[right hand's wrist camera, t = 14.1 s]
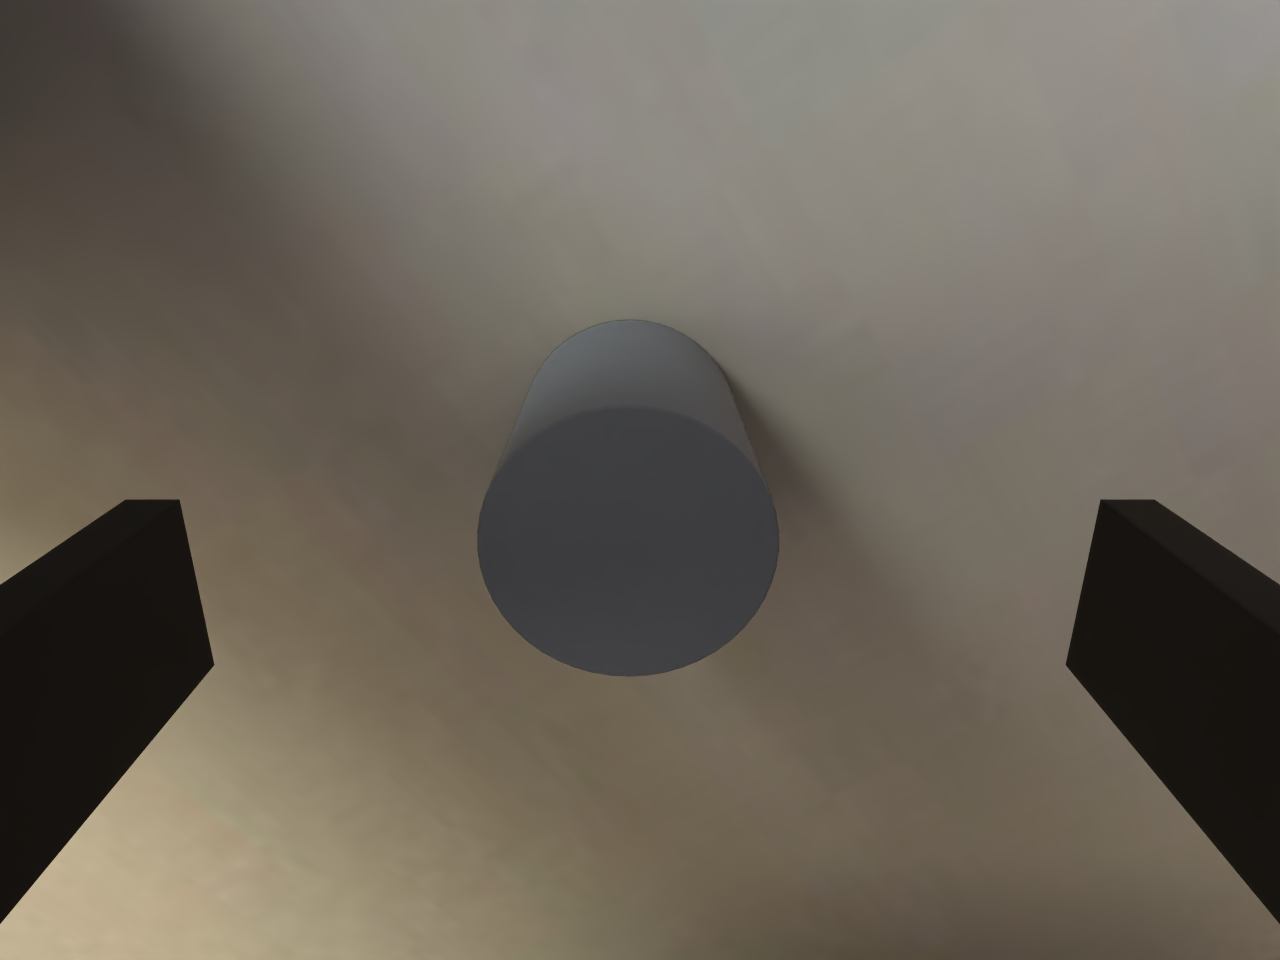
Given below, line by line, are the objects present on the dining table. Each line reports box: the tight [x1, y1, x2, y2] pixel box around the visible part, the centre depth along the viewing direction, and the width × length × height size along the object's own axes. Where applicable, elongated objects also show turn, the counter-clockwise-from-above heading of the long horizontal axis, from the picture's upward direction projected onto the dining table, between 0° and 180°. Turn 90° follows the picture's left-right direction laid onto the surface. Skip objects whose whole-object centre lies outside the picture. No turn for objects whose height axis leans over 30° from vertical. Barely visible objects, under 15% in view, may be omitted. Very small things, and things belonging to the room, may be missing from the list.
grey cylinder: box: [477, 320, 779, 676], centre depth 15 cm, size 4×4×6 cm
